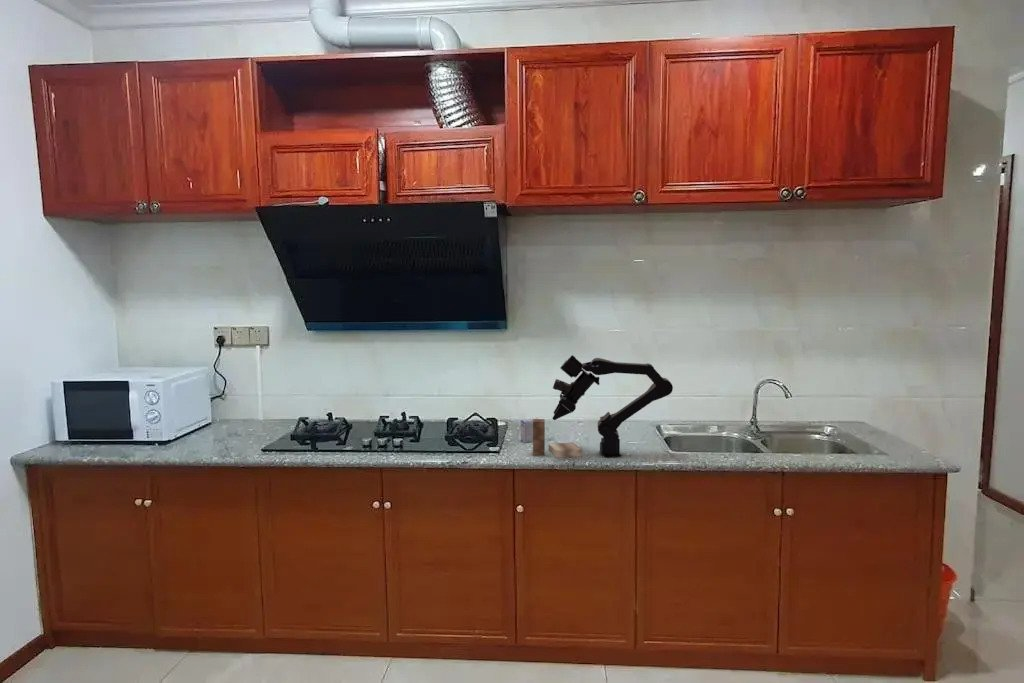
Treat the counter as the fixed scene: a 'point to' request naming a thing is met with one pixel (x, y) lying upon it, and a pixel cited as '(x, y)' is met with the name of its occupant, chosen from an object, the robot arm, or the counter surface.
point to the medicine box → (527, 430)
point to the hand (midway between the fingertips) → (553, 416)
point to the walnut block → (538, 437)
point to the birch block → (565, 450)
